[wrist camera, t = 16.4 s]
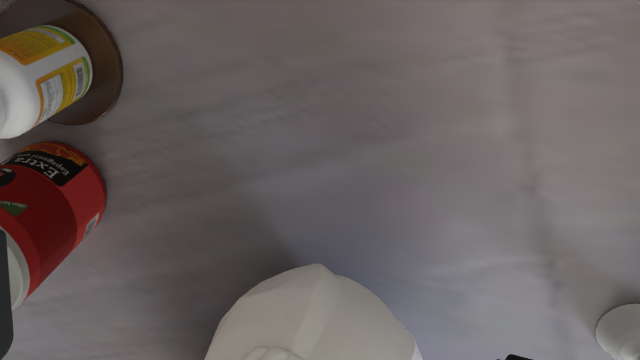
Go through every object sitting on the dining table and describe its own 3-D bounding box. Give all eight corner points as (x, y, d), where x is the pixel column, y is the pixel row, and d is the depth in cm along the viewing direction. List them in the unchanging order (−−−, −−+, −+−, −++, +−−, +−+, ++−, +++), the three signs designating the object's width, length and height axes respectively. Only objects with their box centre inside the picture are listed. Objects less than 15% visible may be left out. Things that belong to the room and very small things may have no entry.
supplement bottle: (4, 44, 40) (-111, 88, 31) (62, 9, 38) (-44, 44, 29) (52, 113, 41) (-44, 172, 33) (110, 82, 40) (24, 136, 31)
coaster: (-5, -20, 38) (-11, -19, 38) (125, 10, 38) (121, 12, 37) (3, 106, 42) (-2, 108, 42) (121, 135, 42) (117, 138, 41)
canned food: (95, 136, 42) (-1, 210, 33) (121, 231, 46) (40, 322, 36) (2, 138, 44) (-118, 210, 34) (33, 230, 47) (-67, 318, 37)
